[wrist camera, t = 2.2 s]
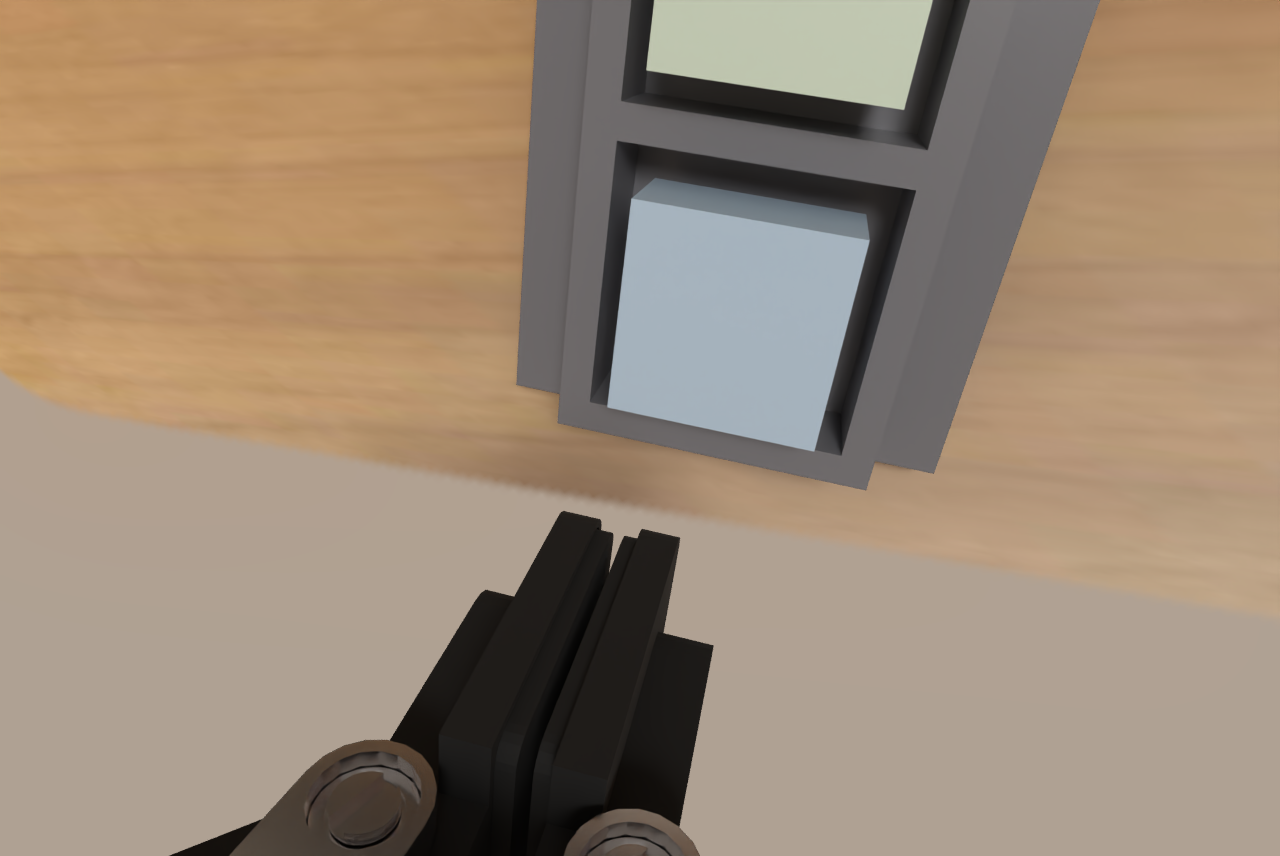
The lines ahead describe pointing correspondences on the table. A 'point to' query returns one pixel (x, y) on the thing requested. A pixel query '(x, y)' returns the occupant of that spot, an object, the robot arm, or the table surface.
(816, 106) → the grey compartment tray
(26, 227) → the table surface
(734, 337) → the blue key
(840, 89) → the sage key
